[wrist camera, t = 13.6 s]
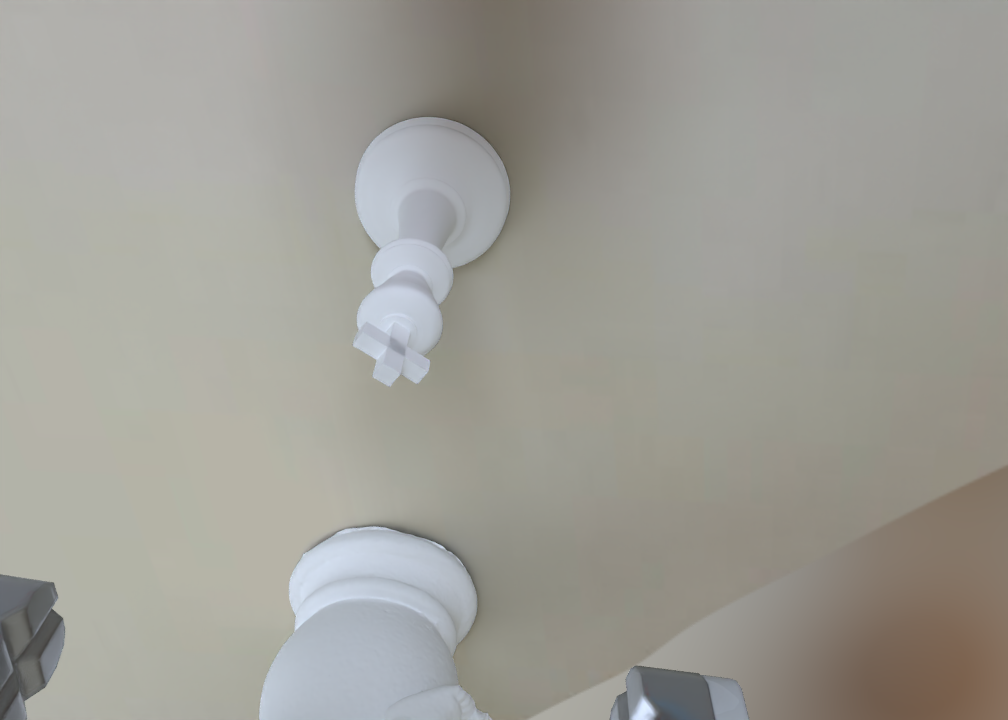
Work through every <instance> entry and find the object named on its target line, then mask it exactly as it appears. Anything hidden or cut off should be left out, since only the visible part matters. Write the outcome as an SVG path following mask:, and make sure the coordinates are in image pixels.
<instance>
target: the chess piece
mask: <svg viewBox="0 0 1008 720" xmlns="http://www.w3.org/2000/svg"><path fill="white" fill-rule="evenodd" d="M355 202H356V208H357V212H358V215H359V218H360V221H361V223H362V225H363V227H364V229H365V230H366V232H367V234H368V235H369V237H370V238H371V239H372V240H373V241H374V243H375V244H376V245H377V246H378V247H379V248H380V250H379V251H378V252H377V254H376V255H375V257H374V259H373V262H372V266H371V278H372V282H373V285H374V288H375V289H374V290H372V291H371V292H370V293H369V294H368V295H367V296H366V297H365V298H364V300H363V301H362V303H361V304H360V307H359V309H358V313H357V327H358V330H359V331H358V332H357V334H356V336H355V338H354V341H353V344H352V345H353V346H354V347H356V348H358V349H359V350H361V351H363V352H364V353H366V354H368V355H369V356H371V357H373V358H374V359H376V360H377V361H376V365H375V368H374V372H373V375H372V377H373V378H375V379H377V380H379V381H380V382H382V383H384V384H385V385H387V386H389V387H390V386H391V385H392V383H393V382H394V381H395V380H396V379H397V377H398V376H399V375H400V374H401V375H403V376H404V377H406V378H408V379H409V380H411V381H413V382H414V383H416V384H418V383H419V382H420V381H421V379H422V378H423V377H424V376H425V375H426V374H427V373H428V370H429V365H430V360H428V359H427V358H425V357H424V356H423V355H425V354H427V353H428V352H430V351H431V350H432V349H433V348H434V347H435V346H436V345H437V343H438V342H439V340H440V338H441V335H442V330H443V319H442V315H441V311H440V308H439V306H438V305H440V304H441V303H442V302H443V301H444V300H445V299H446V297H447V296H448V295H449V293H450V291H451V288H452V285H453V270H452V268H455V267H459V266H462V265H464V264H467V263H469V262H471V261H473V260H475V259H476V258H478V257H479V256H481V255H482V254H483V253H484V252H485V251H487V250H488V249H489V248H490V246H491V245H492V244H493V243H494V242H495V240H496V239H497V237H498V236H499V234H500V232H501V230H502V227H503V225H504V223H505V220H506V218H507V215H508V211H509V206H510V184H509V179H508V175H507V172H506V169H505V167H504V164H503V162H502V161H501V159H500V157H499V155H498V154H497V152H496V151H495V150H494V148H493V147H492V146H491V145H490V144H489V143H488V142H487V141H486V140H485V139H484V138H483V137H482V136H481V135H479V134H478V133H477V132H475V131H474V130H472V129H470V128H469V127H467V126H465V125H463V124H460V123H458V122H455V121H452V120H448V119H444V118H437V117H419V118H413V119H408V120H405V121H402V122H399V123H397V124H395V125H393V126H391V127H389V128H388V129H386V130H385V131H383V132H382V133H381V134H379V135H378V136H377V137H376V138H375V139H374V140H373V141H372V142H371V144H370V145H369V146H368V148H367V149H366V151H365V152H364V154H363V156H362V158H361V161H360V163H359V166H358V170H357V175H356V184H355Z"/></svg>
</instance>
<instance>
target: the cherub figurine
mask: <svg viewBox="0 0 1008 720" xmlns="http://www.w3.org/2000/svg"><path fill="white" fill-rule="evenodd" d="M289 598H290V602H291V606H292V609H293V611H294V614H295V615H296V619H295V632H294V633H293V634H292V635H291V636H290V638H289V639H288V640H287V641H286V642H285V644H284V645H283V646H282V648H281V649H280V651H279V652H278V654H277V656H276V657H275V659H274V661H273V663H272V665H271V667H270V669H269V671H268V674H267V676H266V679H265V683H264V686H263V690H262V695H261V701H260V711H259V720H492V718H490V717H489V715H488V713H487V712H486V713H484V712H481V711H480V710H478V709H477V708H476V706H475V702H474V700H473V699H472V696H471V695H469V694H468V693H467V692H466V691H464V690H463V689H462V687H461V686H460V685H459V683H458V676H457V671H456V667H455V663H454V660H453V655H454V652H455V650H456V645H457V644H459V643H460V642H461V641H462V640H463V639H464V637H465V636H466V635H467V633H468V632H469V630H470V628H471V627H472V625H473V623H474V620H475V617H476V613H477V593H476V590H475V587H474V584H473V582H472V580H471V577H470V574H468V573H467V570H466V568H465V566H463V564H462V562H461V561H460V560H459V559H458V557H456V556H455V555H454V554H453V553H452V552H450V551H446V549H445V547H443V546H442V545H441V544H437V543H436V542H433V541H430V540H427V539H424V538H420V537H415V536H414V535H412V534H406V533H401V532H398V531H396V530H392V529H387V528H386V527H383V528H382V527H377V526H376V527H373V526H371V527H363V528H357V529H356V528H351V529H344V530H343V531H339V532H337V533H336V534H335V535H333V536H332V537H330V538H329V539H327V540H325V541H324V542H322V543H320V544H318V545H317V546H316V547H314V548H313V549H311V550H309V551H307V552H306V553H304V554H303V556H302V558H301V560H300V561H299V562H298V564H297V565H296V567H295V569H294V571H293V573H292V575H291V579H290V583H289Z"/></svg>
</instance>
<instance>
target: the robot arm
mask: <svg viewBox="0 0 1008 720" xmlns="http://www.w3.org/2000/svg"><path fill="white" fill-rule="evenodd" d="M57 599H58V595H57V592H56V588H55V585H54V582H47V581H41V580H34V579H28V578H21V577H15V576H8V575H2V574H0V720H27V713H26V707H25V700H27V699H28V698H30V697H31V696H33V695H34V694H36V693H37V692H39V691H40V690H42V689H43V688H45V687H46V685H47V683H48V682H49V680H50V678H51V676H52V674H53V672H54V671H55V669H56V667H57V664H58V661H59V658H60V655H61V652H62V649H63V646H64V638H65V626H64V621H63V618H62V617H61V616H60V615H59V614H57V613H56V612H55V611H54V610H53V609H52V607H53V606H54V604H55V602H56V601H57ZM626 688H627V691H626V692H624V693H622V694H621V695H618V696H617V698H616V700H615V702H614V705H613V707H612V709H611V715H610V720H749V716H748V712H747V708H746V704H745V700H744V697H743V692H742V689H741V687H740V685H739V684H738V682H737V681H736V680H733V679H730V678H722V677H713V676H706V675H700V674H699V673H691V672H684V671H676V670H668V669H659V668H651V667H644V666H634V667H632V668H631V669H630V671H629V673H628V675H627V677H626Z"/></svg>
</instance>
